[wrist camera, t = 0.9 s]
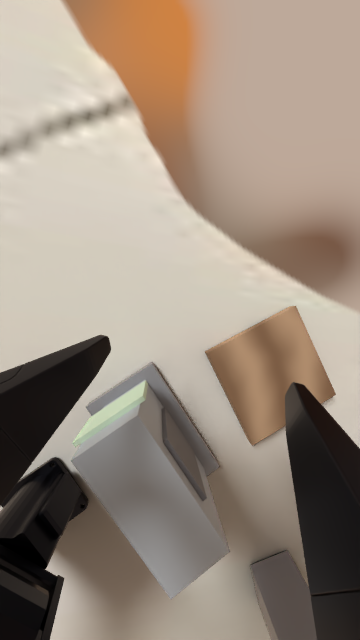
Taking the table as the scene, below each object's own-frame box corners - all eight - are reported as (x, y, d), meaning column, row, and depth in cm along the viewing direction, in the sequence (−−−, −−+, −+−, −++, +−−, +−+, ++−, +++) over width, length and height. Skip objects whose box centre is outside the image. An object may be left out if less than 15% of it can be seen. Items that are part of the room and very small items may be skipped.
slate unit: (159, 503, 21) (160, 625, 13) (89, 402, 20) (40, 462, 12) (216, 460, 22) (253, 548, 14) (152, 361, 21) (148, 390, 13)
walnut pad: (248, 440, 22) (252, 445, 21) (204, 351, 22) (207, 353, 21) (328, 391, 24) (335, 394, 23) (289, 306, 23) (295, 305, 22)
